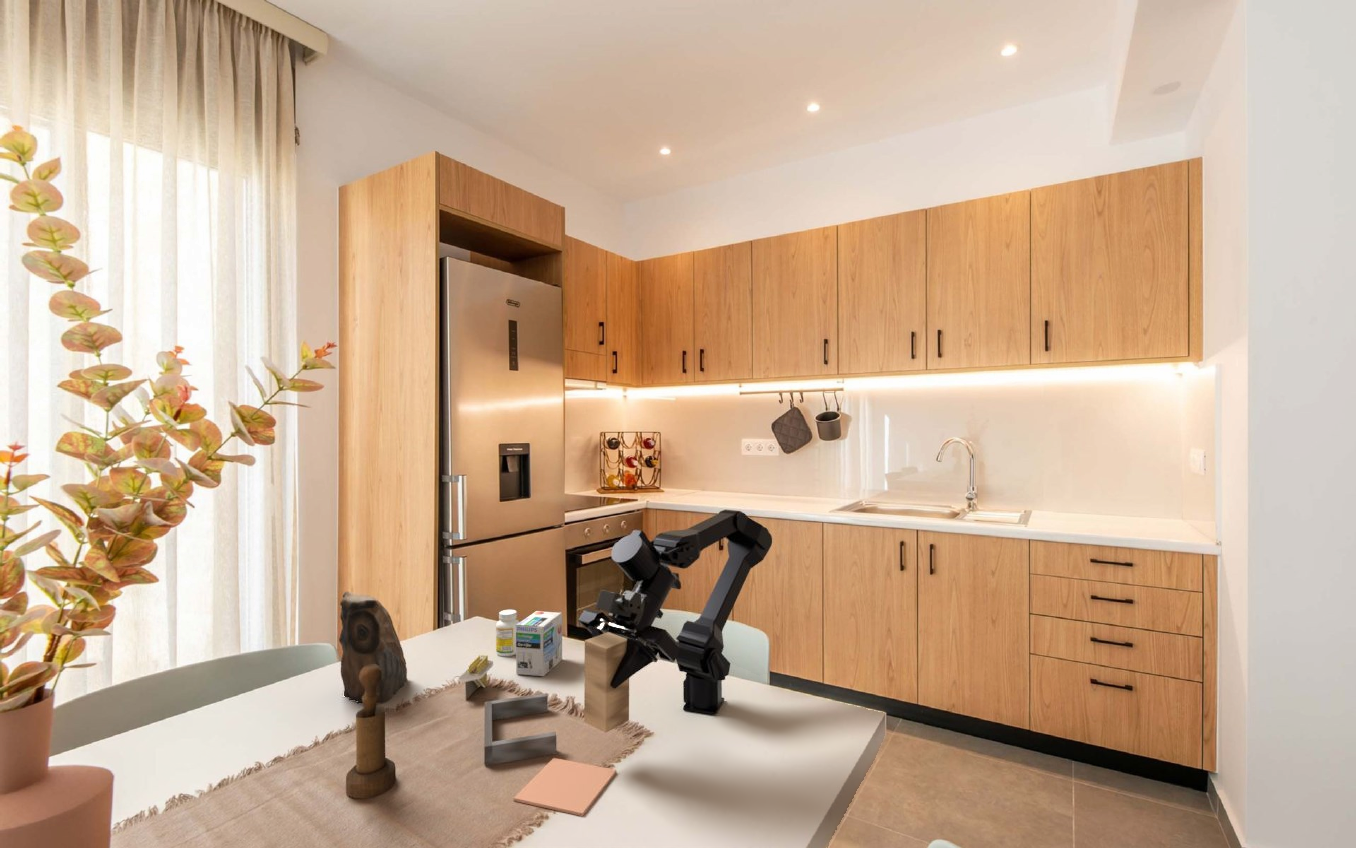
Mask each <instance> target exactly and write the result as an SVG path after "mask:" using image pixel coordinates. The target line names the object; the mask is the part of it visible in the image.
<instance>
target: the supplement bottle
mask: <svg viewBox="0 0 1356 848" xmlns="http://www.w3.org/2000/svg"><path fill="white" fill-rule="evenodd" d="M517 615H518V612H517V610H515V609H504V610H501V611H499V612H498V619H499V620H498V621H497V622H496V623H495V624H496V625H495V627H496V628H495V634H496V635H495V641H496V644H495V646H496V647H495V649H496V650H495V652H496V654H497V656H500V657H511V656H516V625H517V624H518V623H520V621H519V620H518V619H517V617H518V616H517Z"/></svg>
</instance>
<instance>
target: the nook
mask: <svg viewBox="0 0 1356 848" xmlns="http://www.w3.org/2000/svg"><path fill="white" fill-rule="evenodd" d="M548 707H549V706H548V694H547V693H540V694H532V695H525V696H517V697H511V698H510V697H509V698H502V699H498V700H497V699H496V700H491V701H484V732H483V733H484V734H483V735H484V736H483V737H484V738H483V739H484V744H483V745H484V748H483V749H484V751H483V752H484V755H483V756H484V757H483V758H484V762H483V763H484V767H487V766H491V765H497V764H503V763H510V762H515V761H521V760H527V759H528V760H529V759H533V758H534V759H535V758H537V757H538V758H540V757H544V756H552V755H557V732H556V731H553V732H545V733H539V734H533V735H526V736H520V737H515V738H508V739H502V740H495V741H493V721H496V719H497V720H502V719H503V718H504V719H510V717H511V718H516V717H521V716H531V715H537V714H544V713H548V712H549V711H548V709H549V708H548Z"/></svg>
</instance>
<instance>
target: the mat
mask: <svg viewBox="0 0 1356 848" xmlns="http://www.w3.org/2000/svg"><path fill="white" fill-rule="evenodd" d="M616 774H617V769H613V768H608V767H603V766H597V765H592V764H587V763H582V762H578V761H577V762H576V761H572V760H567V759H563V758H562V759H561V758H557V757H553V758H552V759H551V760H550V761H549V762H548V763H547V764H546V765H545V766H543V768H542V769H541V770H540V771H539V772H538V773H537V774H536V775H535V776H534V777H533V778H532V779H531V780H530V781H529V782H528V783H527V784H526V785H525V786H524V787H523V788H522V789H521V790H520V791H519V792H518V793H517V794H516V795H515V796H514V797H513V801H514V802H518V803H523V804H526V805H531V806H535V807H539V808H540V807H541V808H545V809H548V810H549V809H550V810H554V811H557V812H560V813H561V812H562V813H567V814H571V815H575V816H581V817H583V816H584V815H585V814H586V812H588V810H589V809H590V807H591V806H592V805H593V803H594V802H595V801H596V800H597V799H598V797H599V795H600V794H601V793H602V792H603V790H604V789H605V788H606V787H607V786H608V784H609V783H610V782H611V781H612V779H613V778H614V777H615V775H616Z"/></svg>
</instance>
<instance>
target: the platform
mask: <svg viewBox="0 0 1356 848" xmlns="http://www.w3.org/2000/svg"><path fill="white" fill-rule="evenodd" d="M488 657H489V656H488V654H487V655H486V654H485V655H483V654H482V655H481V654H480V655H478V656H477V657H476V658H474V660H473V661H472V662H471V663H470V664H469V665H468V668H467V670H466V671H464V673H462V674H461V676H460V677H459V678H458V682H459V683H465V684H464V685H465V686H464V687H465V688H464V689H465V701H468V699H469V698H470V697H471V696H472V695H473V694H474V693H473V692H476V690H477V689H478V688H479V687H480V686H481V687H483V688H486V686H488V675H487V673H488V672H489V670H490V669H491V668H492V667H493V666H494V661H492V660H489V659H488ZM477 687H478V688H477ZM481 687H480V688H481ZM476 688H477V689H476ZM472 693H473V694H472ZM471 694H472V695H471ZM470 695H471V696H470ZM469 696H470V697H469ZM467 698H468V699H467Z"/></svg>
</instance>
